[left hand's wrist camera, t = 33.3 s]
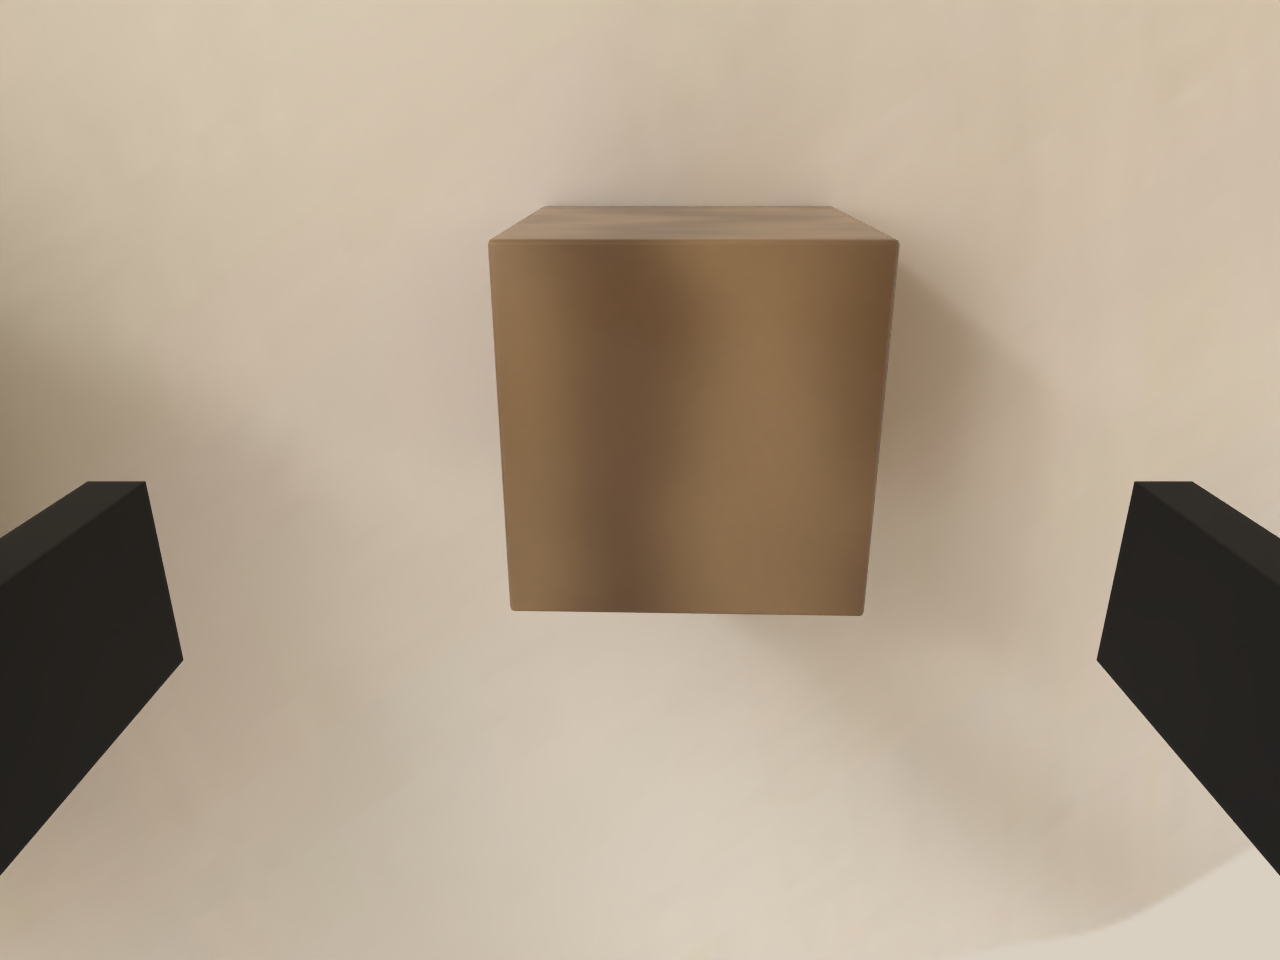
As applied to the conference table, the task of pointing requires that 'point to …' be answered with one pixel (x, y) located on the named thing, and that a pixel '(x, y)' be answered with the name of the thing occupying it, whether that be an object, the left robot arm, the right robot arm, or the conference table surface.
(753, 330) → the block
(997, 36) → the conference table surface
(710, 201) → the conference table surface
